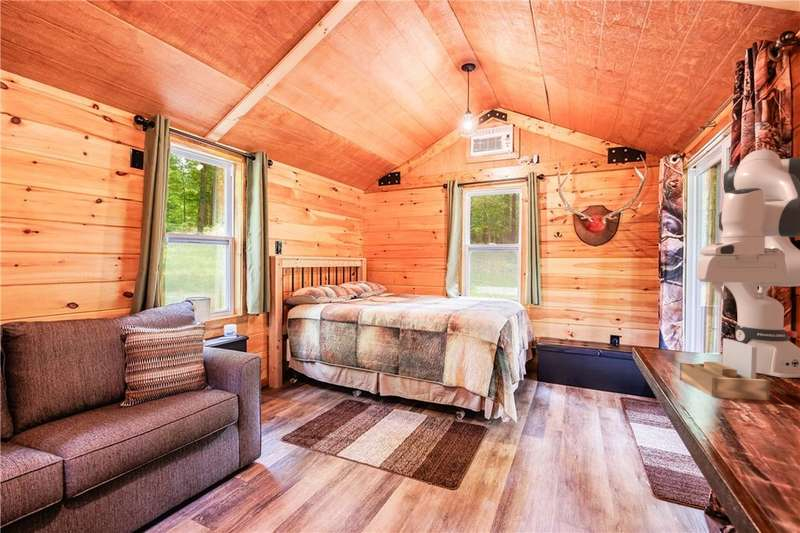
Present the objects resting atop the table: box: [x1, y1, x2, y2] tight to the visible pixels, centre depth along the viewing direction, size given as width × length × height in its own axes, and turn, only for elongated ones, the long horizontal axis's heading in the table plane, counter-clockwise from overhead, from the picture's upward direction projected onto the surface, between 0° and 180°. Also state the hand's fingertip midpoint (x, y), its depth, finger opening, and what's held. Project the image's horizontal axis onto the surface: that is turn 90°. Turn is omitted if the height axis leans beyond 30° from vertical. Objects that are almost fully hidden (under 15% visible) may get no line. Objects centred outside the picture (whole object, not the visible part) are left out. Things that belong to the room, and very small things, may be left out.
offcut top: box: [703, 361, 737, 378], centre depth 102 cm, size 4×7×2 cm, turn 173°
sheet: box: [721, 338, 757, 379], centre depth 101 cm, size 1×10×13 cm, turn 173°
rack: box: [679, 362, 771, 401], centre depth 102 cm, size 13×14×6 cm
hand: (740, 299), depth 101 cm, fingers open, 8 cm apart
